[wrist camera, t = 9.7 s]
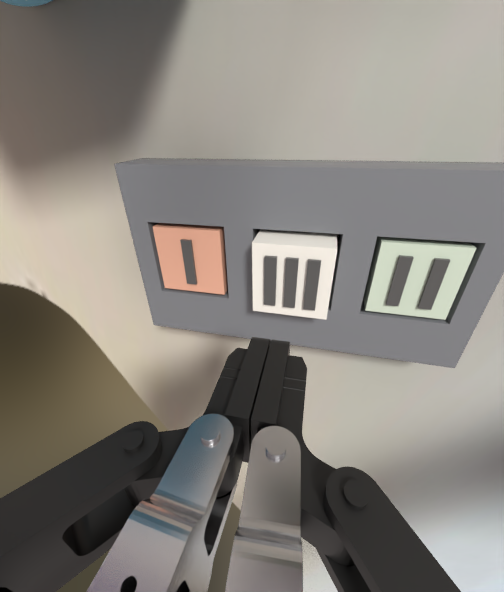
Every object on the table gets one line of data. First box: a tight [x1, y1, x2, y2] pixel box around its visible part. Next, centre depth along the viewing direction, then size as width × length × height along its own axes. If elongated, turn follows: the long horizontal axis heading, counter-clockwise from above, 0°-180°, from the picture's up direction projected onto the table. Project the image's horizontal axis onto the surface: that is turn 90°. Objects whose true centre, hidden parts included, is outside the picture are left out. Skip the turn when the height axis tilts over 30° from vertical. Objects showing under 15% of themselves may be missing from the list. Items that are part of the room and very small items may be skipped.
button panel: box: [114, 158, 504, 368], centre depth 19 cm, size 22×12×3 cm, turn 90°
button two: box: [363, 236, 476, 320], centre depth 17 cm, size 5×5×3 cm
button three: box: [252, 229, 337, 320], centre depth 18 cm, size 5×5×3 cm
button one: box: [153, 223, 228, 295], centre depth 20 cm, size 5×5×3 cm
